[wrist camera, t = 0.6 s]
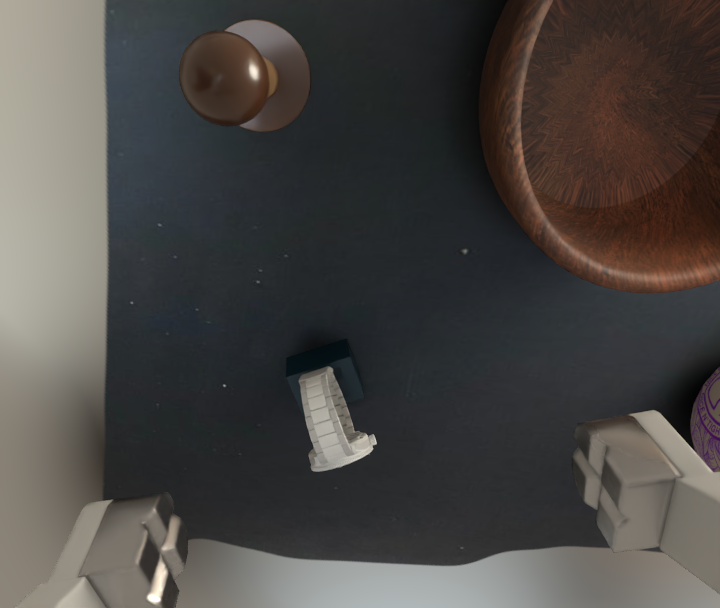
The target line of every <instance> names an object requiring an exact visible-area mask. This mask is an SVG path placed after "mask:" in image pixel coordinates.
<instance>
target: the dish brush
mask: <svg viewBox="0 0 720 608" xmlns="http://www.w3.org/2000/svg"><path fill="white" fill-rule="evenodd" d="M179 81H180V86H181V90H182V93H183V95H184V97H185V99H186V101H187V103H188V104H189V105H190V107H191V108H192V109H193V110H194V111H195V112H196V113H197V114H198V115H199V116H200V117H202V118H203V119H205V120H206V121H208V122H210V123H213V124H216V125H220V126H239V127H241V128H244V129H246V130H249V131H254V132H271V131H275V130H278V129H281V128H283V127H285V126H287V125H288V124H290V123H291V122H292V121H294V120H295V119H296V118H297V117H298V115H299V114H300V113H301V112H302V110H303V108H304V107H305V105H306V102H307V100H308V97H309V94H310V88H311V72H310V67H309V63H308V60H307V57H306V55H305V52H304V50H303V49H302V47H301V45H300V44H299V43H298V41H297V40H296V39H295V38H294V37H293V36H292V35H291V34H290V33H289V32H288V31H287V30H285V29H284V28H283V27H281V26H279V25H277V24H275V23H273V22H270V21H266V20H261V19H247V20H242V21H239V22H236V23H234V24H232V25H230V26H229V27H227V28H226V29H225V30H223V31H211V32H207V33H204V34H202V35H200V36H198V37H197V38H196V39H194V40H193V41H192V42H191V43H190V44H189V45H188V47H187V48H186V49H185V51H184V53H183V55H182V58H181V61H180V66H179Z"/></svg>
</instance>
